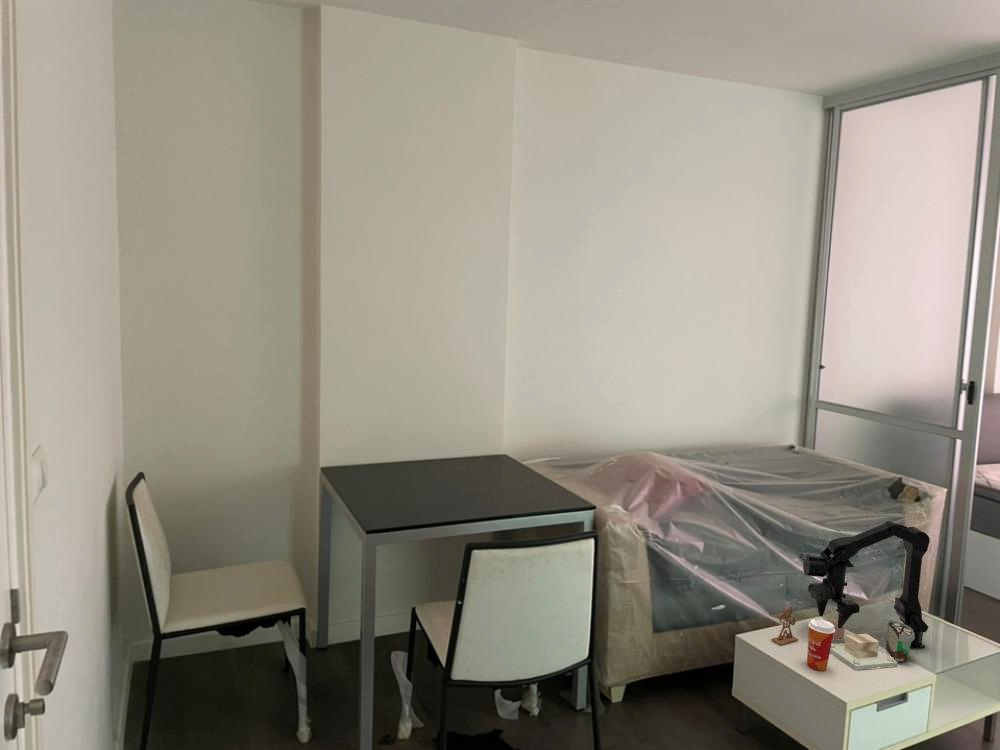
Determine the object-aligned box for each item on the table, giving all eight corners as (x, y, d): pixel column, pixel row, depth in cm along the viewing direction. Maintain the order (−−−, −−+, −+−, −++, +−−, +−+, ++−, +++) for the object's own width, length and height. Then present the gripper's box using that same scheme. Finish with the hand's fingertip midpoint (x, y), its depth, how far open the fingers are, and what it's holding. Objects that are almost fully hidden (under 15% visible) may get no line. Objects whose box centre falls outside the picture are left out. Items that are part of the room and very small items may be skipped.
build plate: (864, 645, 255) (865, 639, 255) (897, 666, 242) (898, 659, 242) (824, 649, 251) (825, 642, 251) (855, 670, 238) (856, 663, 237)
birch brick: (864, 648, 250) (866, 633, 250) (877, 656, 245) (879, 641, 244) (844, 650, 248) (846, 635, 247) (856, 658, 243) (858, 643, 242)
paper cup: (798, 660, 242) (804, 617, 240) (822, 660, 242) (827, 618, 241) (811, 672, 234) (816, 628, 232) (835, 673, 235) (840, 629, 233)
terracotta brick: (832, 632, 264) (834, 618, 264) (843, 640, 259) (845, 626, 259) (812, 633, 262) (814, 619, 262) (822, 641, 257) (824, 627, 257)
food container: (916, 668, 242) (921, 638, 241) (895, 665, 243) (899, 635, 242) (904, 650, 254) (908, 622, 253) (884, 647, 255) (888, 619, 254)
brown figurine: (788, 636, 258) (792, 602, 257) (798, 641, 255) (802, 606, 254) (770, 641, 254) (774, 606, 253) (780, 646, 251) (784, 611, 249)
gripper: (797, 568, 265) (792, 611, 267) (835, 589, 247) (829, 636, 249) (824, 567, 268) (819, 609, 270) (863, 588, 250) (857, 633, 252)
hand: (830, 622), depth 260 cm, fingers open, 9 cm apart
